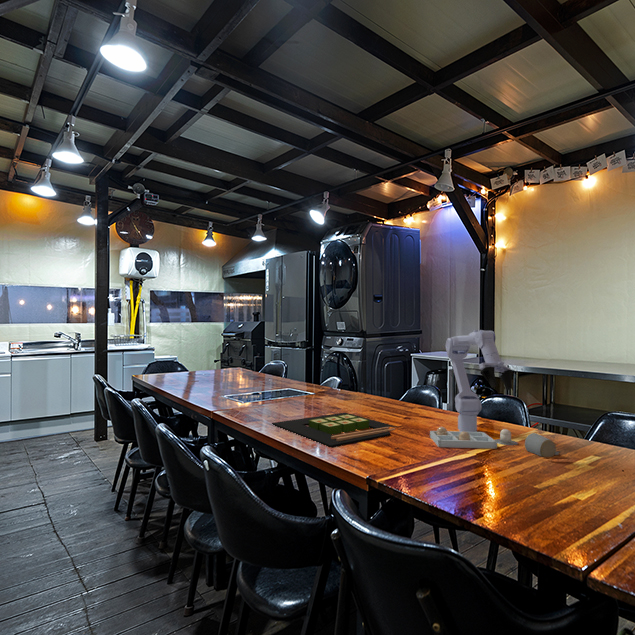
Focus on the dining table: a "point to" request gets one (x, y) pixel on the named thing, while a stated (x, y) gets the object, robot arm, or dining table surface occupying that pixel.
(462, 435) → the brown egg
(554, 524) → the dining table surface
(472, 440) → the egg carton
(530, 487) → the dining table surface
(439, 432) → the brown egg
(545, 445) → the ceramic mug
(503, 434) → the cream egg
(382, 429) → the sushi set
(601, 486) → the dining table surface
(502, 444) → the grey round disc
